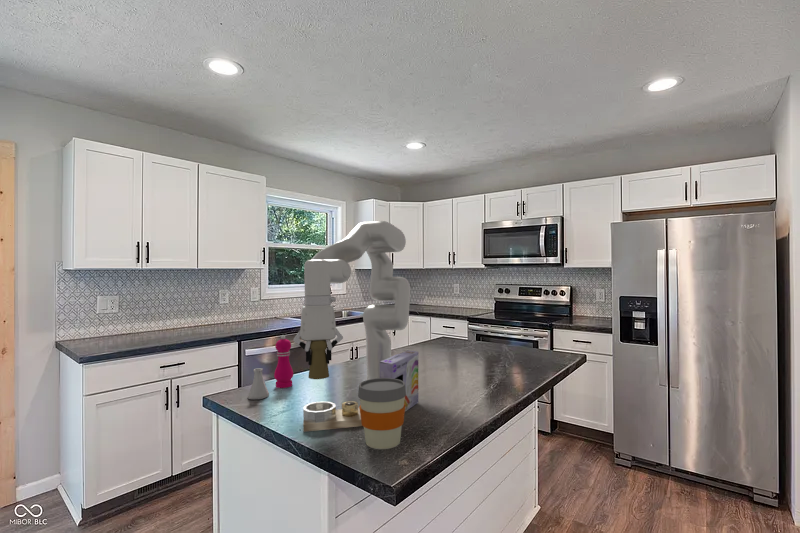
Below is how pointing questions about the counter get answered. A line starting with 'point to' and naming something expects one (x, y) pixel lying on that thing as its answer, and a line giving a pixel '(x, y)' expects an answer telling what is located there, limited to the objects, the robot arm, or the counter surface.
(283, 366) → the pepper mill
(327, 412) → the wide steel collar
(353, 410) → the narrow brass collar
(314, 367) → the cork
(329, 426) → the fitting board
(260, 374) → the flask
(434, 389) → the counter surface
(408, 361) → the cake pan box
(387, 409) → the reusable coffee cup
